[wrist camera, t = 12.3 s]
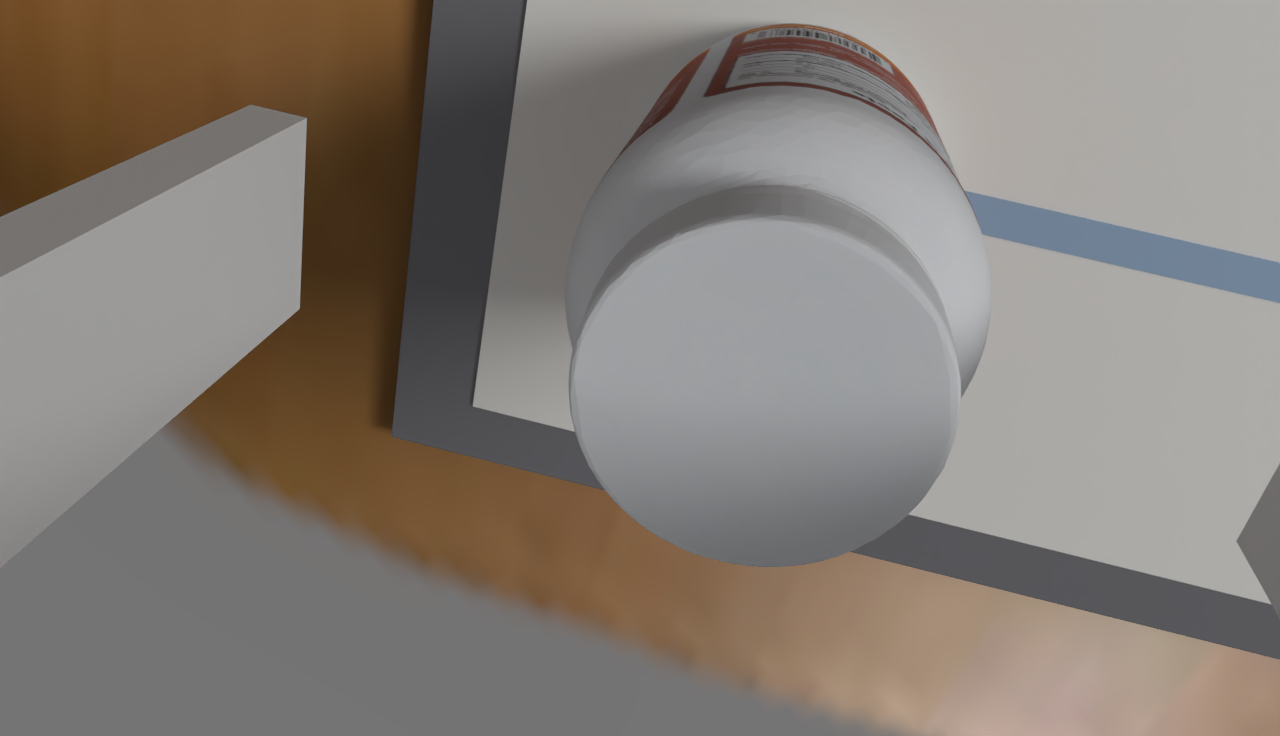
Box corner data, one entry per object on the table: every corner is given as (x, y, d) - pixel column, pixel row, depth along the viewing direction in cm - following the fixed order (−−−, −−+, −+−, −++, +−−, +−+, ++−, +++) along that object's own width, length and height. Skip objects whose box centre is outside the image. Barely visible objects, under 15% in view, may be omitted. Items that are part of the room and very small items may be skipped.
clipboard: (483, -407, 20) (459, -426, 18) (2207, -62, 18) (2310, -57, 17) (399, 425, 28) (380, 451, 26) (1582, 721, 26) (1621, 764, 25)
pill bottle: (720, 347, 24) (646, 676, 15) (591, 104, 23) (406, 292, 13) (985, 237, 22) (1109, 532, 13) (868, -41, 21) (905, 47, 11)
